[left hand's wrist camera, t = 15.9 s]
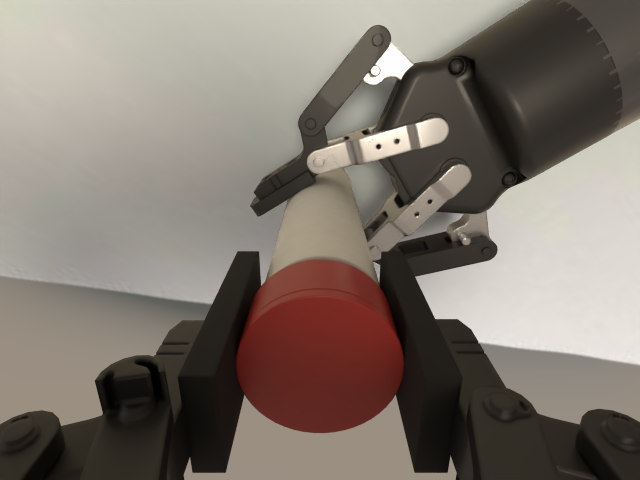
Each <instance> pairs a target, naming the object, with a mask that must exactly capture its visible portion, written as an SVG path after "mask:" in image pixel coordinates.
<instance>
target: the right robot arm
mask: <svg viewBox="0 0 640 480" xmlns="http://www.w3.org/2000/svg"><path fill="white" fill-rule="evenodd" d="M389 76H390V77H394V78H396V79H397V81H396V84H395V86H394V88H393V90H392V93H391V95H390V97H389V100H388V102H387V104H386V106H385V109H384V111H383V113H382V115H381V118H380V120H379V122H378V124H376V125H373V126H370V127H366V128H363V129H360V130H356V131H353V132H350V133H348V134H346V135H344V136H340V137H337V138H334V139H330V140H327V137H326V132H325V126H326V124H327V123H328V122H329V121H330V119H331V118H332V117H333V116H334V114H335V113H336V112H337V111H338V110H339V108H340V107H341V106H342V105H343V103H344V102H345V101H346V100H347V98H348V97H349V96H350V95H351V94H352V92H353V91H354V90H355V89H356V87H357V86H358V85H359V84H360V83H361V81H363V82H365V83H366V84H371V85H375V84H378V83H380V82H381V81H382V80H383V79H385V78H386V77H389ZM638 119H640V0H531V1H529V2H528V3H526V4H525V5H523V6H521V7H520V8H518V9H517V10H515V11H514V12H512V13H511V14H509V15H507V16H506V17H504V18H503V19H501V20H500V21H498V22H497V23H495V24H493V25H492V26H490V27H489V28H487V29H486V30H484V31H483V32H481V33H479V34H478V35H476V36H475V37H473V38H472V39H470V40H468V41H467V42H465V43H464V44H462V45H461V46H459V47H458V48H456V49H454V50H453V51H451V52H450V53H448V54H447V55H445V56H443V57H442V58H440V59H438V60H435V61H430V62H420V63H415V64H413V63H412V62H411V61H410V60H409V59H408V58H407V57H406V56H405V55H404V54H403V53H402V52H401V51H400V50H399V49H398V48H397V47H396V46H395V45H394V44H392V43H391V35H390V33H389V31H388V29H387V28H385V27H384V26H381V25H375V26H373V27H371V28H370V29H369V30H368V31H367V32H366V33H365V34H364V35H363V36H362V38H361V39H360V40H359V41H358V43H357V44H356V45H355V47H354V48H353V49H352V50H351V52H350V53H349V54H348V55H347V57H346V58H345V59H344V61H343V62H342V63H341V64H340V66H339V67H338V68H337V69H336V71H335V72H334V73H333V75H332V76H331V77H330V78H329V80H328V81H327V82H326V83H325V85H324V86H323V87H322V89H321V90H320V91H319V92H318V94H317V95H316V96H315V97H314V99H313V100H312V101H311V103H310V104H309V105H308V106H307V108H306V109H305V110H304V111H303V113H302V115H301V116H300V118H299V121H298V126H299V129H300V131H301V136H302V140H303V145H304V149H303V151H302V153H301V154H300V155H299V156H297V157H296V158H294V159H292V160H291V161H289V162H288V163H286V164H285V165H283V166H281V167H280V168H278V169H277V170H275V171H274V172H272V173H270V174H269V175H267V176H266V177H264V178H263V179H262V180H261V182H260V183H259V185H258V186H257V188H256V190H255V191H254V193H255V195H256V196H257V197H255V198H254V200H253V202H252V203H251V205H250V206H251V208H252V209H253V210H254V212H255V213H256V215H257V216H261V215H263V214H265V213H266V212H268V211H269V210H271V209H273V208H274V207H276V206H278V205H279V204H281V203H282V202H284V201H286V200H287V199H289V198H290V197H292V196H294V195H295V194H297V193H298V192H300V191H302V190H303V189H305V188H307V187H308V186H310V185H312V184H313V183H315V181H316V176H317V175H318V174H323V173H326V172H330V171H333V170H337V169H340V168H344V167H347V166H351V165H360V164H365V163H369V162H372V161H376V160H379V161H380V163H381V164H382V165H383V167H384V168H385V169H386V170H387V171H388V172H389V173H390V176H391V180H392V184H393V186H394V188H395V189H396V192H395V193H394V194H393V195H392V196H391V197H390V198H389V199H388V200H387V201H386V202H385V203H384V205H383V208H382V209H381V210H380V211H379V212H378V213H377V214H376V215H375V216H374V217H373V218H372V219H371V220H370V221H369V222H368V223H367V224H366V225H365V226H364V227H363V229H364V233H365V236H366V240H367V243H368V247H369V250H370V254H371V257H372V261H373V262H376V263H378V264H379V265H381V251H403V253H404V255H405V257H406V260H407V262H408V264H409V266H410V268H411V270H412V272H413V274H414V276H415V277H416V276H420V275H425V274H429V273H434V272H438V271H443V270H448V269H452V268H457V267H461V266H466V265H470V264H475V263H479V262H484V261H488V260H491V259H492V258H494V257H495V255H496V253H497V246H496V244H495V243H494V242H493V241H492V240H491V239H490V237H489V231H488V222H487V212H486V211H487V210H488V209H489V208H491V207H492V206H493V205H494V203H495V202H496V200H497V199H498V198H499V197H500V195H501V194H502V193H503V192H505V191H506V190H507V189H509V188H510V187H512V186H515V185H517V184H520V183H522V182H525V181H527V180H529V179H531V178H533V177H535V176H536V175H538V174H540V173H542V172H544V171H546V170H547V169H549V168H551V167H553V166H555V165H556V164H558V163H560V162H562V161H564V160H565V159H567V158H569V157H571V156H573V155H574V154H576V153H578V152H580V151H582V150H584V149H585V148H587V147H589V146H591V145H593V144H594V143H596V142H598V141H600V140H602V139H604V138H605V137H607V136H609V135H610V134H612V133H614V132H616V131H618V130H620V129H621V128H623V127H625V126H627V125H629V124H631V123H632V122H634V121H636V120H638ZM416 212H417V213H416ZM435 212H447V213H463V216H462V217H461V219H459V220H458V221H456V222H453V223H452V224H450V225H449V227H448V228H447V231H446V232H442V233H438V234H433V235H429V236H425V237H420V238H416V239H411V240H407V241H403V242H399V241H400V240H401V239H402V238H403V237H405V236H409V235H411V234H412V233H414V232H415V231H416V230H417V229H418V228H419V227H420V226H421V225H422V224H423V223H424V222H425V221H426V220H427V219H428V218H429V217H430V216H431V215H433V214H434V213H435Z"/></svg>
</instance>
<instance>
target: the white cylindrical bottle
mask: <svg viewBox="0 0 640 480" xmlns="http://www.w3.org/2000/svg"><path fill="white" fill-rule="evenodd" d="M308 260H332V261H338V262H342V263H345V264H348V265H350V266H353V267H355V268H357V269H359V270H361V271H362V272H364V273H365V274H367V275H368V276H369V277H371V278H372V279H373V280H374V281H375V282H376V283H377V284H378V286H379V287H380V285H379V282H378V278H377V275H376V271H375V268H374V264H373V261H372V257H371V254H370V250H369V247H368V243H367V240H366V236H365V233H364V229H363V226H362V222H361V219H360V215H359V212H358V208H357V205H356V201H355V198H354V194H353V191H352V187H351V184H350V180H349V177H348V175H347V173H346V172H345V170H344V169H343V168H340V169H337V170H333V171H330V172H326V173H323V174H318V175H317V176H316V181H315V183H313V184H312V185H310V186H308V187H307V188H305V189H303V190H302V191H300V192H298V193H297V194H295V195H294V196H292V197H290V198H289V199H288V202H287V206H286V209H285V213H284V216H283V220H282V224H281V227H280V231H279V234H278V238H277V242H276V245H275V249H274V252H273V256H272V260H271V263H270V267H269V270H268V274H267V278H266V280H268V279H269V278H270V277H271V276H272V275H273V274H275V273H276V272H278V271H279V270H281V269H283V268H285V267H287V266H290V265H292V264H295V263H298V262H303V261H308Z"/></svg>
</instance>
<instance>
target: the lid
mask: <svg viewBox="0 0 640 480" xmlns="http://www.w3.org/2000/svg"><path fill="white" fill-rule="evenodd" d="M236 368H237V377H238V381H239V384H240V386H241V389H242V391H243V393H244V394H245V396H246V398H247V399H248V400H249V401H250V403H251V404H252V405H253V406H254V407H255V408H256V409H257V410H258V411H259V412H260V413H262V414H263V415H264V416H265V417H267V418H268V419H270V420H272V421H274V422H275V423H277V424H280V425H282V426H284V427H287V428H290V429H293V430H298V431H303V432H310V433H330V432H337V431H342V430H347V429H350V428H353V427H356V426H358V425H361V424H363V423H365V422H366V421H368V420H370V419H372V418H373V417H375V416H376V415H377V414H379V413H380V412H381V411H382V410H383V409H384V408H386V407H387V405H388V404H389V403H390V402H391V401H392V399H393V398H394V396H395V395H396V393H397V391H398V389H399V387H400V385H401V382H402V378H403V371H404V354H403V349H402V345H401V342H400V339H399V336H398V332H397V329H396V326H395V322H394V319H393V316H392V313H391V309H390V306H389V303H388V301H387V298H386V296H385V295H384V293H383V291H382V290H381V288H380V287H379V286H378V284H377V283H376V282H375V281H374V280H373V279H372V278H371V277H369V276H368V275H367V274H365V273H364V272H362V271H361V270H359V269H357V268H355V267H353V266H350V265H348V264H345V263H342V262H338V261H332V260H308V261H303V262H298V263H295V264H292V265H290V266H287V267H285V268H283V269H281V270H279V271H278V272H276V273H275V274H273V275H272V276H271V277H270V278H269V279H268V280H266V281H265V282H264V284H263V285H262V286H261V287H260V288H259V290H258V292H257V293H256V295H255V297H254V299H253V301H252V304H251V307H250V310H249V314H248V317H247V320H246V323H245V327H244V330H243V333H242V336H241V340H240V343H239V346H238V350H237V355H236Z"/></svg>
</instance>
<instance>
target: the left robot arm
mask: <svg viewBox="0 0 640 480" xmlns="http://www.w3.org/2000/svg"><path fill="white" fill-rule="evenodd" d="M379 285H380V288H381V290H382V291H383V293H384V295H385V296H386V298H387V301H388V303H389V306H390V309H391V313H392V316H393V319H394V322H395V326H396V329H397V332H398V336H399V339H400V342H401V345H402V349H403V354H404V371H403V378H402V382H401V385H400V387H399V389H398V391H397V393H396V397H397V401H398V405H399V410H400V414H401V418H402V422H403V426H404V430H405V434H406V439H407V443H408V447H409V451H410V455H411V460H412V464H413V468H414V472H415V473H447V472H448V467H449V461H450V455H451V458H452V460H453V463H454V466H455V469H456V472H457V475H456V480H640V422H638V421H637V420H635V419H633V418H631V417H629V416H627V415H624V414H621V413H618V412H615V411H612V410H604V409H596V410H591V411H588V412H587V413H586V414H584V415H583V416H582V419H581V423H580V425H579V424H575V423H570V422H566V421H562V420H558V419H553V418H550V417H547V416H543V415H540V414H538V413H537V412H536V410H535V409H534V407H533V405H532V404H531V403H530V402H529V401H528V400H527V399H525V398H524V397H523V396H522V395H520V394H518V393H516V392H514V391H512V390H511V389H508V388H506V387H505V385H504V383H503V382H502V380H501V378H500V377H499V375H498V373H497V372H496V370H495V368H494V367H493V365H492V364H491V362H490V360H489V359H488V357H487V355H486V354H484V350H483V349H482V347H481V345H480V344H478V340H477V339H476V337H475V335H474V334H473V332H472V330H471V329H470V328H468V327H467V326H466V325H464V324H463V323H462V322H461V321H459V320H458V319H435V318H434V316H433V314H432V312H431V310H430V307H429V305H428V303H427V301H426V299H425V297H424V295H423V293H422V291H421V289H420V287H419V285H418V282H417V280H416V278H415V276H414V274H413V272H412V270H411V268H410V266H409V264H408V262H407V260H406V257H405V255H404V253H403V251H381V265H380V282H379ZM260 287H261V277H260V261H259V251H238V252H237V254H236V256H235V258H234V260H233V262H232V264H231V266H230V268H229V271H228V273H227V275H226V277H225V279H224V281H223V283H222V285H221V287H220V289H219V291H218V293H217V296H216V298H215V300H214V302H213V304H212V306H211V308H210V310H209V312H208V314H207V316H206V318H205V321H181V322H180V323H179V324H178V325H176V326H175V327H174V328H173V329H171V330H170V331H169V332H168V334H167V336H166V338H165V339H164V341H163V343H162V345H161V346H160V347H159V349H158V351H157V353H156V355H155V356H154V357H153V356H149V355H142V356H133V357H129V358H125V359H122V360H120V361H118V362H115V363H113V364H111V365H110V366H109V367H107V368H106V369H105V370H103V371H102V372H101V373H100V374H99V376H98V377H97V379H96V380H95V383H96V387H97V391H98V395H99V399H100V403H101V407H102V411H103V415H102V416H99V417H96V418H93V419H89V420H85V421H81V422H77V423H73V424H68V425H64V426H61V425H60V422H59V418H58V417H57V416H56V415H55V414H53V413H52V412H47V411H34V412H27V413H24V414H21V415H18V416H16V417H13V418H11V419H9V420H7V421H6V422H4V423H2V424H0V480H184V476H183V475H184V472H185V469H186V466H187V463H188V460H189V458H190V459H191V465H192V472H193V473H225V472H226V469H227V465H228V461H229V456H230V452H231V448H232V444H233V440H234V436H235V431H236V427H237V423H238V419H239V415H240V410H241V406H242V402H243V398H244V393H243V391H242V389H241V386H240V384H239V381H238V377H237V368H236V355H237V350H238V346H239V343H240V340H241V336H242V333H243V330H244V327H245V323H246V320H247V317H248V314H249V310H250V307H251V304H252V301H253V299H254V297H255V295H256V293H257V292H258V290H259V288H260Z"/></svg>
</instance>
